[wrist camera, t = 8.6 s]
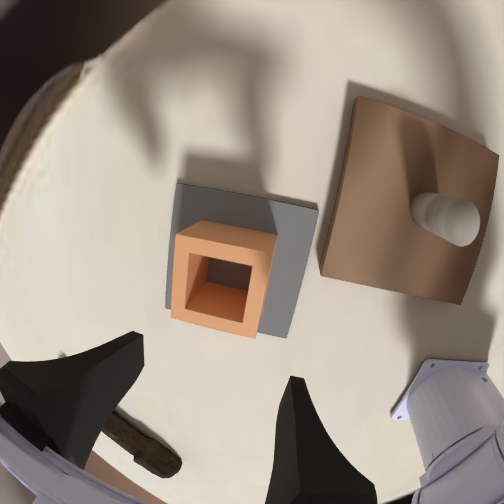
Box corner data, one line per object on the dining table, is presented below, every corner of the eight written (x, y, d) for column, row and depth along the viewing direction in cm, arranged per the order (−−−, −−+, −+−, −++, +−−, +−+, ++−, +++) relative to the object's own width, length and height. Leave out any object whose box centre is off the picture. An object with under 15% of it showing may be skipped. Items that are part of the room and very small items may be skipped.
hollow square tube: (278, 234, 19) (272, 253, 15) (263, 305, 21) (255, 338, 16) (201, 220, 20) (175, 233, 15) (194, 289, 21) (170, 317, 17)
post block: (488, 155, 15) (541, 156, 9) (452, 297, 18) (491, 337, 12) (353, 101, 16) (379, 70, 10) (319, 268, 20) (327, 311, 13)
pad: (318, 210, 19) (319, 210, 18) (286, 335, 21) (286, 338, 21) (178, 183, 19) (176, 183, 19) (167, 305, 22) (165, 307, 22)
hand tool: (70, 380, 29) (51, 399, 25) (76, 369, 28) (56, 390, 24) (173, 462, 31) (163, 485, 27) (188, 457, 30) (178, 482, 25)
